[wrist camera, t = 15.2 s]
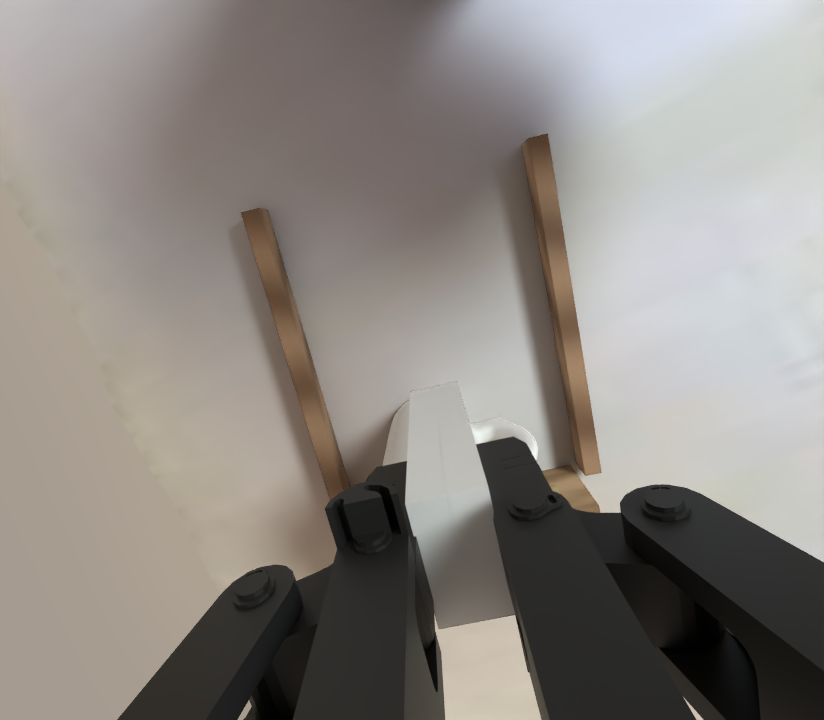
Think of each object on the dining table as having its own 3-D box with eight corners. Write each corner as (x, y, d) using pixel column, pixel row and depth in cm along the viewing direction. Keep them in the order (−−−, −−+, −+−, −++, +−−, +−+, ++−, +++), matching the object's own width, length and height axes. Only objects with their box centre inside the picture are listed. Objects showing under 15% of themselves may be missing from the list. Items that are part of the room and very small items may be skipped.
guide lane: (251, 214, 33) (240, 212, 31) (539, 140, 31) (547, 133, 29) (342, 513, 38) (338, 527, 36) (591, 460, 37) (601, 472, 35)
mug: (404, 482, 37) (398, 587, 26) (374, 407, 36) (353, 482, 24) (525, 442, 36) (576, 532, 25) (499, 363, 35) (539, 420, 23)
